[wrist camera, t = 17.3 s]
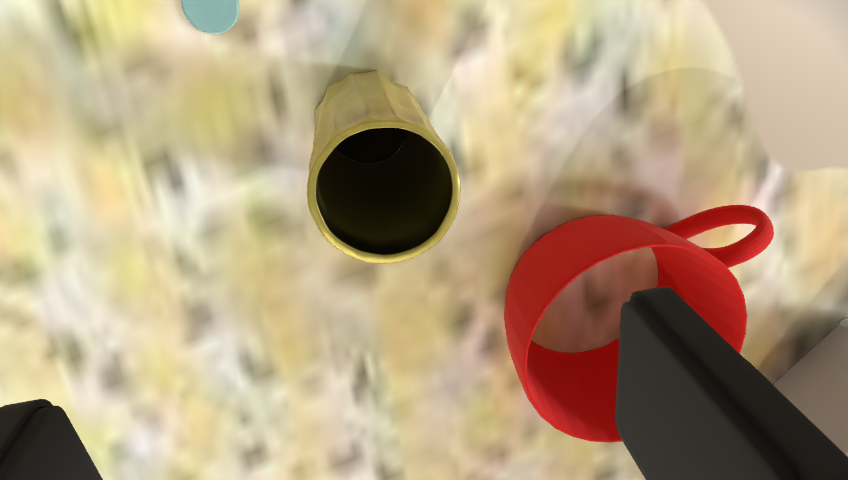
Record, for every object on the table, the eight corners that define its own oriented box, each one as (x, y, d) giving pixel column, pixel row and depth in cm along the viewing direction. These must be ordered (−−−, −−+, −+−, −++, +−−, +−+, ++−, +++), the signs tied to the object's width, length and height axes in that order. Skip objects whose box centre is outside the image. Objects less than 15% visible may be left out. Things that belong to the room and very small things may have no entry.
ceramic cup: (728, 243, 40) (843, 312, 31) (542, 377, 43) (598, 478, 34) (647, 104, 35) (754, 139, 26) (441, 266, 38) (474, 349, 29)
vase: (294, 83, 30) (262, 141, 17) (399, 46, 30) (445, 76, 17) (336, 183, 33) (334, 299, 20) (432, 149, 33) (494, 242, 20)
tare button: (181, -22, 27) (173, -22, 25) (235, -29, 27) (230, -29, 26) (196, 34, 28) (190, 37, 27) (248, 28, 28) (244, 30, 27)
